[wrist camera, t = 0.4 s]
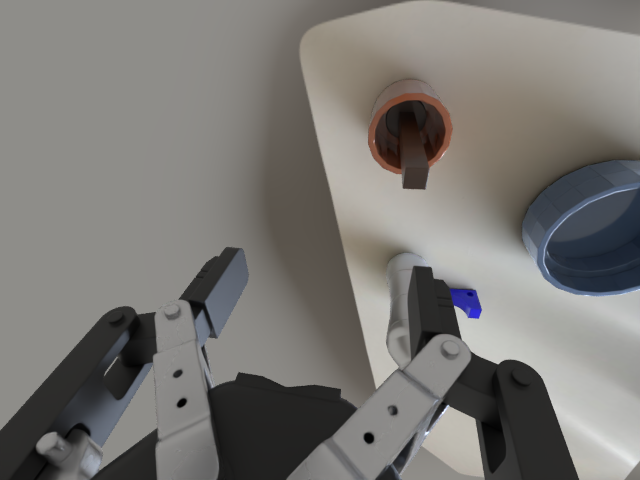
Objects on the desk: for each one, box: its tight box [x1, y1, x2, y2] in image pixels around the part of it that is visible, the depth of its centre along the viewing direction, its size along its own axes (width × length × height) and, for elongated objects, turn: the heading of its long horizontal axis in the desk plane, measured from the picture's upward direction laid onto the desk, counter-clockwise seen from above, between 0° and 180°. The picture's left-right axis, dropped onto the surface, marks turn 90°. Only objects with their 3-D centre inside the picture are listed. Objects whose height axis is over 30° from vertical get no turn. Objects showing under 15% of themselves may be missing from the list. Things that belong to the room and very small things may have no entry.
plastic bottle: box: [386, 253, 429, 370], centre depth 40 cm, size 6×7×20 cm
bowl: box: [522, 160, 640, 297], centre depth 36 cm, size 15×15×6 cm
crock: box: [368, 79, 453, 174], centre depth 32 cm, size 8×8×8 cm
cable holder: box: [450, 289, 482, 319], centre depth 48 cm, size 8×4×4 cm, turn 95°
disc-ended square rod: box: [386, 100, 429, 190], centre depth 28 cm, size 4×4×17 cm
